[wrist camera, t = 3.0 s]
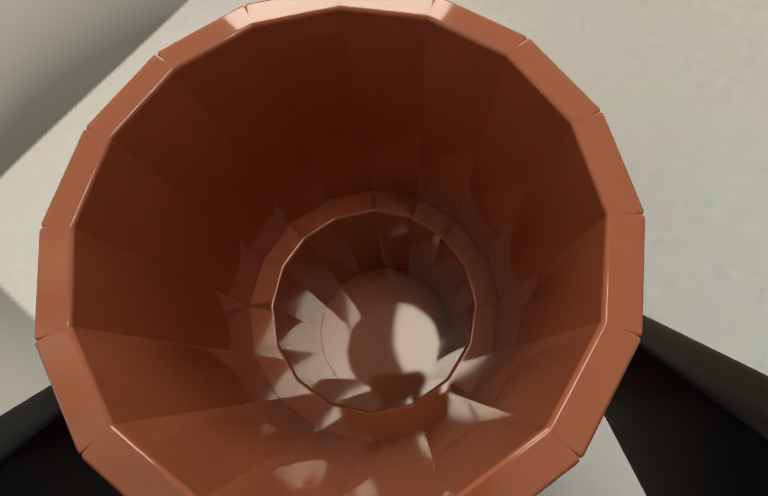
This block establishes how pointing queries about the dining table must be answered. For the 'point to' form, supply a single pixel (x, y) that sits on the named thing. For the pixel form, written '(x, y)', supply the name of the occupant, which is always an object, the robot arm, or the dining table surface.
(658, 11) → the dining table surface
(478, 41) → the orange faceted cup
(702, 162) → the dining table surface
